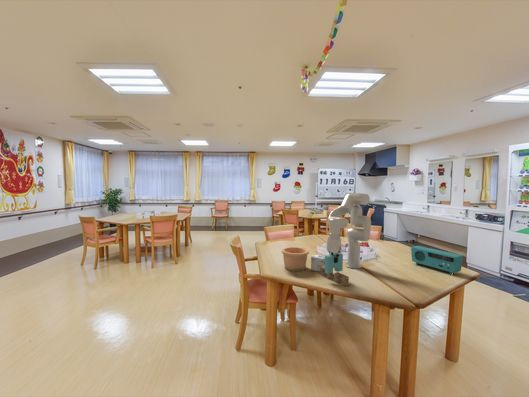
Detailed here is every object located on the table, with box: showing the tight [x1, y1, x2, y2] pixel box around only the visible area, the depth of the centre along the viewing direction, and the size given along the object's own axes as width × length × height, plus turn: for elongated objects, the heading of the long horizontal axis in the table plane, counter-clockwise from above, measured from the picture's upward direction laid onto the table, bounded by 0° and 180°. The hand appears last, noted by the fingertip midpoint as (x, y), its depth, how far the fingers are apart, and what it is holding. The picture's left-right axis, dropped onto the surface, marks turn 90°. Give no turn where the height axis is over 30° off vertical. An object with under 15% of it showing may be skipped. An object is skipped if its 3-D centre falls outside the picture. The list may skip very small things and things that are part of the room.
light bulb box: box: [310, 254, 325, 272], centre depth 188 cm, size 11×7×11 cm, turn 59°
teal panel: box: [324, 253, 344, 274], centre depth 168 cm, size 14×3×12 cm, turn 119°
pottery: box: [281, 246, 310, 272], centre depth 193 cm, size 22×22×14 cm
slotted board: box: [319, 266, 350, 287], centre depth 168 cm, size 24×3×6 cm, turn 29°
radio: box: [410, 245, 464, 275], centre depth 192 cm, size 34×10×15 cm, turn 27°
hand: (333, 261), depth 168 cm, fingers closed on teal panel, 3 cm apart
